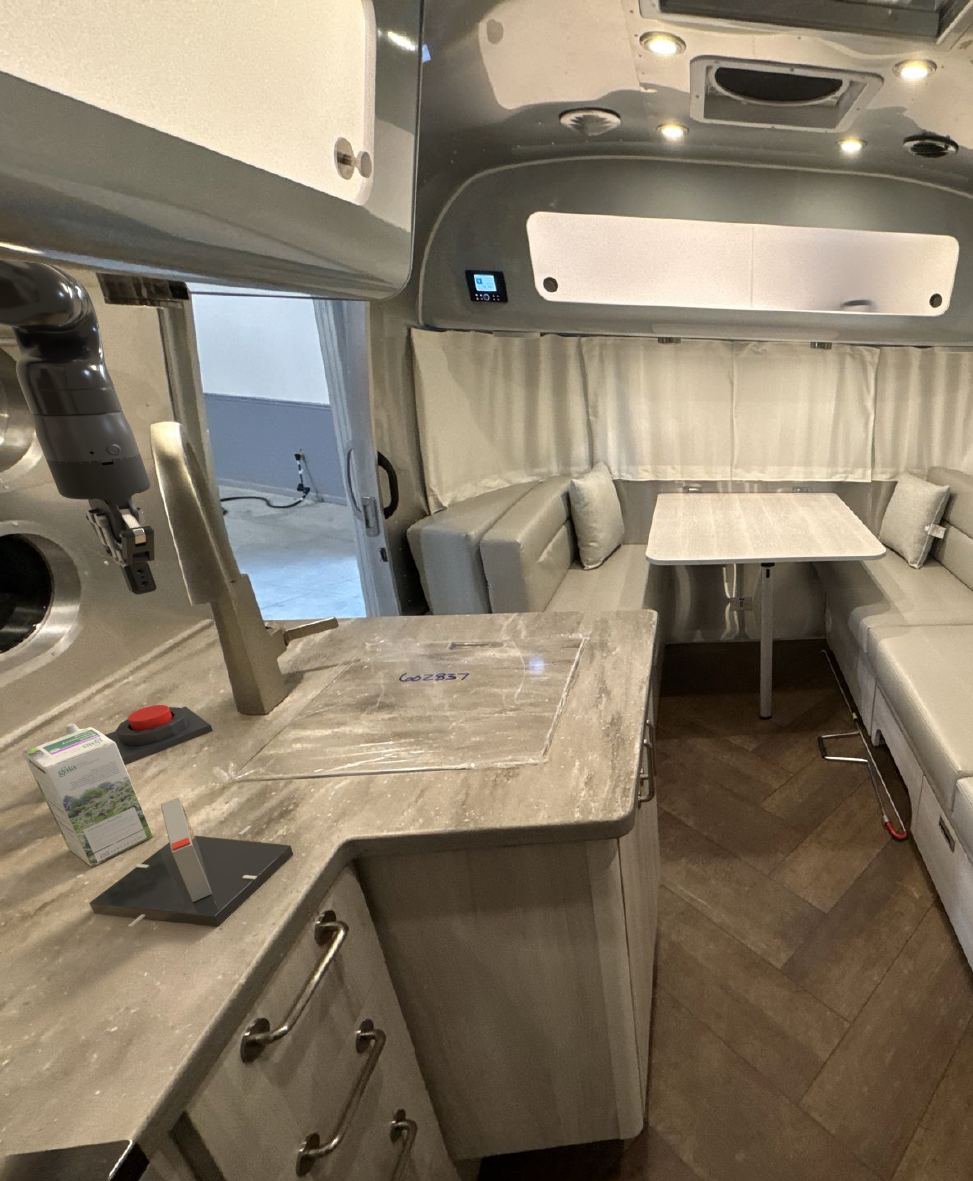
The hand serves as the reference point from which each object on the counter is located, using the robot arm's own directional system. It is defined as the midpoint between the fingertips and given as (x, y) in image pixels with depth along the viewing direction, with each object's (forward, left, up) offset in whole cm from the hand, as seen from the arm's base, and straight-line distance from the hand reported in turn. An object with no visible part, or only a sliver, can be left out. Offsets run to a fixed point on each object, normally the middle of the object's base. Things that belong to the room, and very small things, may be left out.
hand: (143, 591), depth 79 cm
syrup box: (-12, -8, -27) cm, 31 cm away
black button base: (-1, +14, -27) cm, 30 cm away
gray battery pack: (-9, -23, -25) cm, 35 cm away
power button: (-1, +14, -24) cm, 28 cm away
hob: (-9, -23, -27) cm, 37 cm away
